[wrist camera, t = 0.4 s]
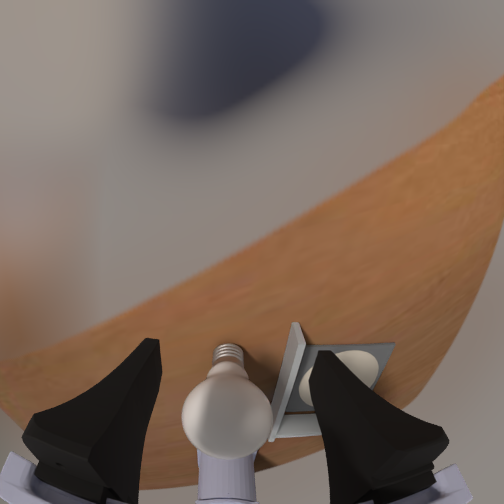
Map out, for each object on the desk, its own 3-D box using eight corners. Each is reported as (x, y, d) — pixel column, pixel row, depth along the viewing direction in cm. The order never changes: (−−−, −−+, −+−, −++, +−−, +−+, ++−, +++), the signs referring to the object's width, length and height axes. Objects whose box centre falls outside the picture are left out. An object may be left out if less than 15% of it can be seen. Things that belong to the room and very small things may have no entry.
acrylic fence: (355, 415, 30) (362, 432, 27) (266, 421, 29) (268, 441, 26) (402, 322, 25) (416, 339, 22) (292, 322, 24) (298, 343, 21)
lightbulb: (275, 334, 24) (296, 440, 14) (246, 380, 26) (252, 477, 16) (207, 311, 23) (192, 419, 12) (184, 361, 25) (167, 460, 14)
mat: (362, 404, 29) (363, 406, 29) (285, 409, 28) (285, 412, 28) (394, 342, 26) (396, 344, 25) (305, 344, 25) (306, 347, 24)
